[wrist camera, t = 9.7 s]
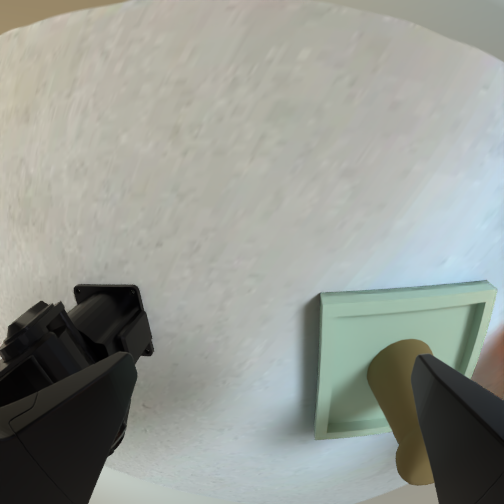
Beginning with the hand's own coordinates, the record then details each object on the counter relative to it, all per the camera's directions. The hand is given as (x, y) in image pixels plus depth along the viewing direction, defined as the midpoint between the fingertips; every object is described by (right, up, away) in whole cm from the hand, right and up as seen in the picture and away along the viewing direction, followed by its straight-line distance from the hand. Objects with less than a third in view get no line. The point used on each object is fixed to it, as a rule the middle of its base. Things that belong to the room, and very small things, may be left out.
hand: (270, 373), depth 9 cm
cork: (+12, -6, +14) cm, 19 cm away
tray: (+12, -6, +15) cm, 20 cm away
